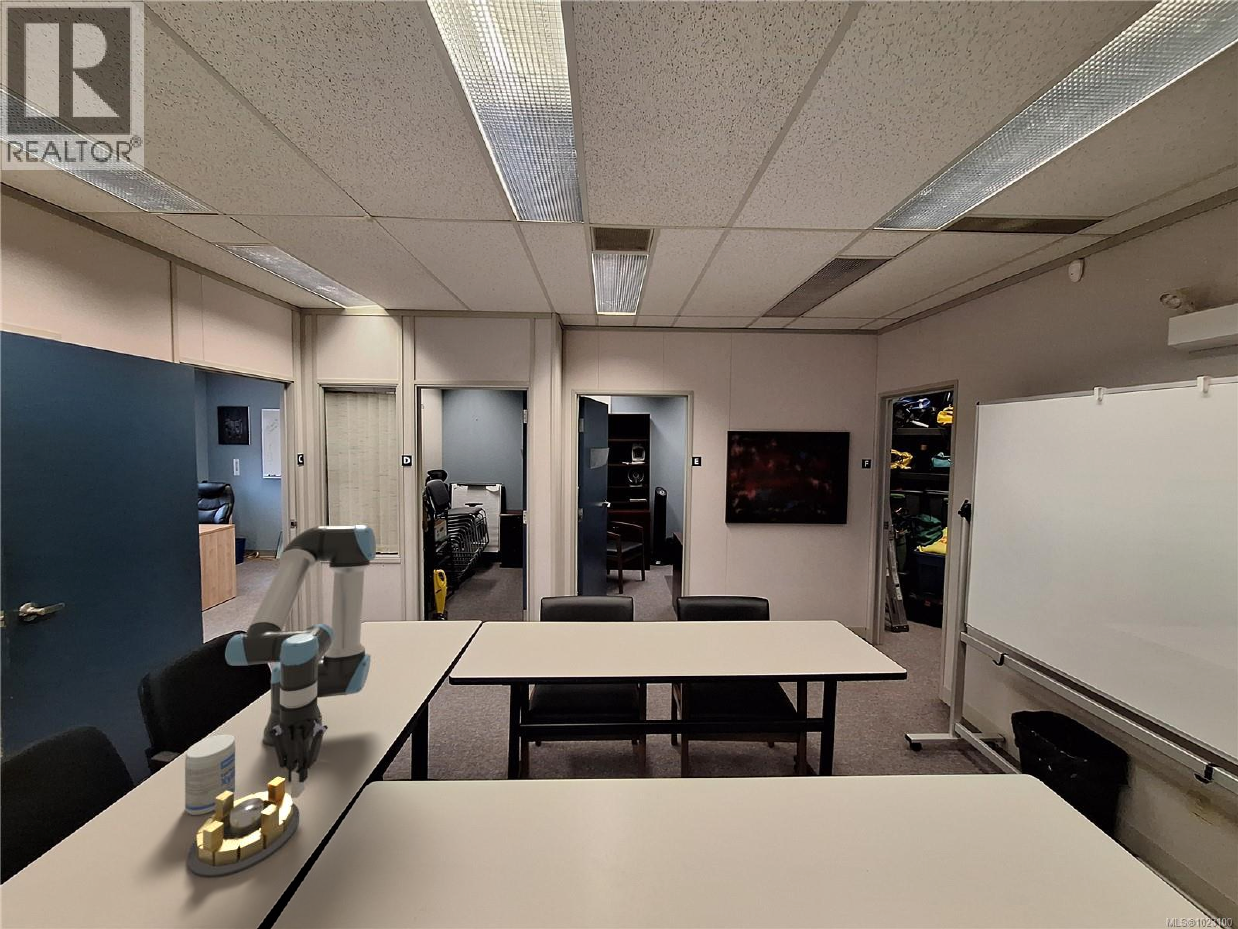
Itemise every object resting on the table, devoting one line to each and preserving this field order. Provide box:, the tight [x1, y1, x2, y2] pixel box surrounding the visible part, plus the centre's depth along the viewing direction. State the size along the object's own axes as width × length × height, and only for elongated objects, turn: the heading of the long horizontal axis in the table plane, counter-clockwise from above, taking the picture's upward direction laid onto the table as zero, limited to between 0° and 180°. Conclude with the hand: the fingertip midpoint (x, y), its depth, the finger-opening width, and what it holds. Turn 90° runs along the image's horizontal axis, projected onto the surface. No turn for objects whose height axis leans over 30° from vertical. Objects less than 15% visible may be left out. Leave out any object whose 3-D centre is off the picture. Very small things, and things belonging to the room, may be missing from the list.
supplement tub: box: [184, 734, 236, 816], centre depth 115 cm, size 10×10×15 cm
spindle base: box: [187, 798, 300, 878], centre depth 106 cm, size 20×20×7 cm
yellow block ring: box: [196, 776, 293, 866], centre depth 106 cm, size 17×17×7 cm
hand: (297, 793), depth 112 cm, fingers closed
